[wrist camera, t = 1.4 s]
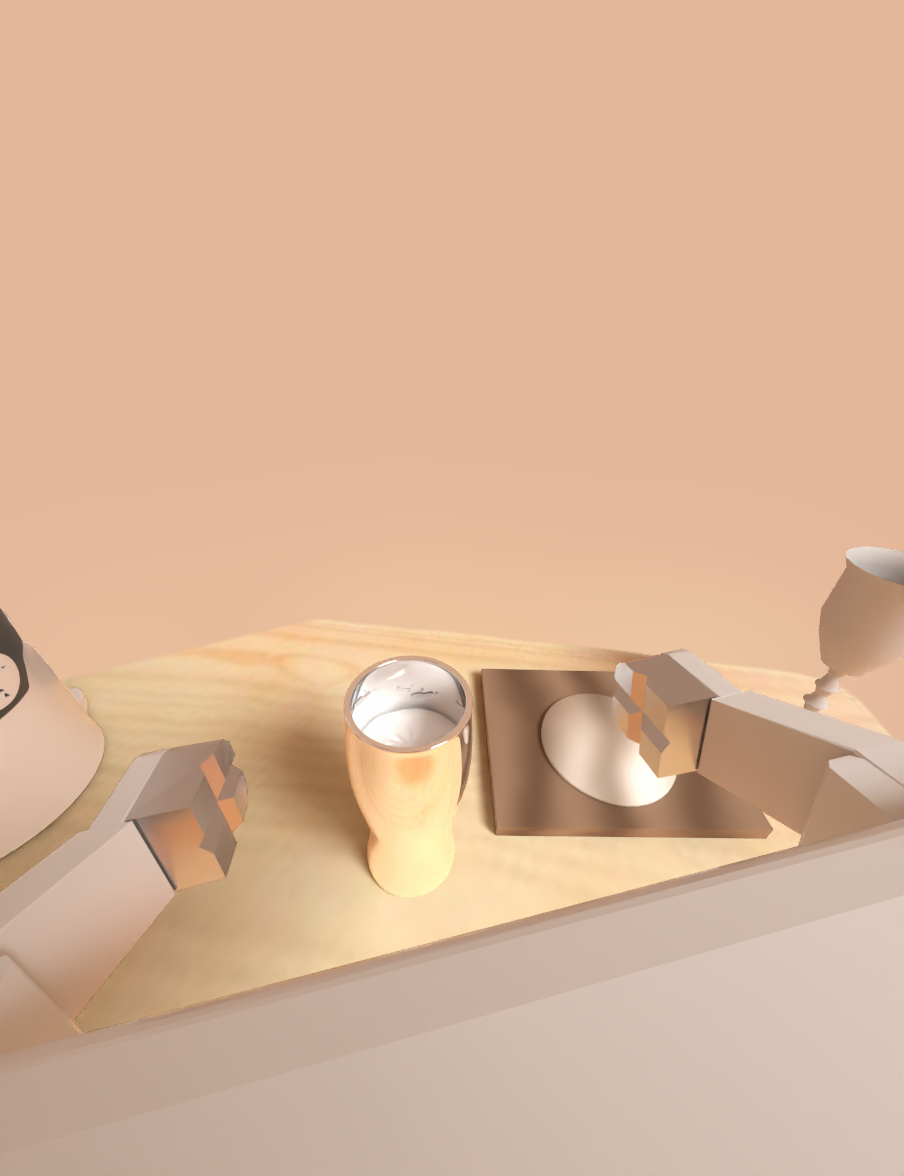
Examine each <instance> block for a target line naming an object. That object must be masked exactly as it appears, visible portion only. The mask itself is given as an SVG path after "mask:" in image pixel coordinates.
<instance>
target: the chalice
mask: <svg viewBox="0 0 904 1176" xmlns="http://www.w3.org/2000/svg"><path fill="white" fill-rule="evenodd" d="M846 564H847V568H846V569H845V571H844V572H843V574H842V576H841V577H840V579H839V580H838V582H837V584H836V585H835V587H834V588H833V590H832V592H831V593H830V595H829V597H828V598H827V600H826V602H825V603H824V605H823V606H822V608H821V616H820V625H819V638H820V651H821V660H822V661H823V663H825V664H826V665H827V666H828V667H830V668H829V671H828V673H827V674H826V675H825V676H824V677H822V678H821V679H817V680H816V681H815V684H816V690H815V691H814V692H813V693H812V694H806V695H804V696H803V698H804V700H805V705H804V709H807V710H810V711H813V712H816V713H817V712H818V711H820V710H824V709H828V707H829V706H828V703H827V697H828V696H830V695H831V694H833V693H837V692H839V688H838V685H839V682H840V679H841V678H842V677H843V676H844V675H850V676H861V675H864V674H867V673H869V672H872V671H874V670H876V669H879V668H881V667H884V666H886V665H889V664H891V663H893V662H896V661H898V660H900V659H901V658H903V657H904V552H902V551H898V550H893V549H886V548H878V547H856V548H850V549H849V550H848V551H846Z"/></svg>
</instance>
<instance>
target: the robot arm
mask: <svg viewBox="0 0 904 1176" xmlns="http://www.w3.org/2000/svg"><path fill="white" fill-rule="evenodd" d="M12 625H14V624H13V622H12V621H11V619H10V618H9V617H8V615H7V614H6V613H5V612H4V611H2V610H1V609H0V858H2V857H4V856H6V855H7V854H9V853H10V852H12V851H14V850H15V849H17V848H18V847H20V846H21V845H23V844H24V843H26V842H27V841H29V840H30V839H31V838H33V837H34V836H36V835H37V834H38V833H40V832H41V831H42V830H43V829H45V828H46V827H47V826H48V825H50V824H51V823H52V822H53V821H54V820H55V819H57V818H58V817H59V816H60V815H61V814H62V813H63V812H64V811H65V810H66V809H67V808H68V807H69V806H70V805H71V804H72V803H73V802H74V801H75V800H76V799H77V798H78V796H79V795H80V794H81V793H82V792H83V790H84V789H85V788H86V787H87V785H88V784H89V782H90V781H91V779H92V778H93V776H94V775H95V773H96V771H97V769H98V767H99V765H100V762H101V760H102V757H103V753H104V746H105V741H104V735H103V732H102V730H101V728H100V727H99V726H98V724H96V723H95V722H94V721H93V720H92V719H91V718H90V717H89V715H88V713H87V710H88V700H87V697H86V695H85V694H84V693H83V692H82V691H81V690H80V689H78V688H67V686H66V685H65V684H64V683H63V681H62V680H61V679H60V678H59V676H58V675H57V674H56V673H55V672H54V670H53V669H52V668H51V667H50V666H49V664H48V663H47V662H46V661H45V660H44V658H43V657H42V656H41V655H40V654H39V652H38V651H37V650H36V649H35V648H34V647H33V646H32V645H31V644H30V643H29V642H26V641H24V640H21V638H20V637H19V635H18V633H17V632H16V630H15V629H14V627H13V626H12ZM614 679H615V680H616V681H617V682H618V683H619V685H620V687H619V688H618V689H617V691H616V692H615V694H614V695H613V710H614V714H615V718H616V721H617V723H618V725H619V727H620V729H621V731H622V732H623V733H624V735H625V736H626V737H627V738H628V739H630V740H632V741H634V742H636V743H638V744H640V745H639V755H640V756H641V757H642V758H643V760H644V761H645V762H646V764H647V765H648V766H649V768H650V769H651V770H652V771H653V773H654V774H655V775H656V777H657V778H662V777H667V776H672V775H677V774H682V773H688V772H693V771H698V772H697V773H699V774H701V775H702V776H704V777H706V778H707V779H709V780H711V781H712V782H714V783H716V784H717V785H719V786H721V787H722V788H724V789H726V790H727V791H729V792H731V793H732V794H734V795H736V796H737V797H739V798H741V799H742V800H744V801H746V802H747V803H749V804H751V805H752V806H754V807H756V808H757V809H759V810H761V811H762V812H764V813H766V814H767V815H769V816H771V817H772V818H774V819H776V820H777V821H779V822H781V823H782V824H784V825H786V826H787V827H789V828H791V829H792V830H794V831H796V832H797V833H799V834H801V835H802V836H801V839H800V842H799V844H798V846H797V847H793V848H789V849H786V850H782V851H778V852H774V853H770V854H767V855H763V856H759V857H755V858H751V859H747V860H744V861H740V862H736V863H732V864H728V865H725V866H721V867H717V868H713V869H709V870H705V871H702V872H698V873H694V874H690V875H686V876H683V877H679V878H675V879H671V880H667V881H664V882H660V883H656V884H652V885H648V886H645V887H641V888H637V889H633V890H629V891H626V892H622V893H618V894H614V895H610V896H607V897H603V898H599V899H595V900H591V901H587V902H584V903H580V904H576V905H572V906H568V907H565V908H561V909H557V910H553V911H549V912H546V913H542V914H538V915H534V916H530V917H527V918H523V919H519V920H515V921H511V922H507V923H504V924H500V925H496V926H492V927H488V928H485V929H481V930H477V931H473V932H469V933H465V934H462V935H458V936H454V937H450V938H446V939H442V940H439V941H435V942H431V943H427V944H423V945H420V946H416V947H412V948H408V949H404V950H400V951H397V952H393V953H389V954H385V955H381V956H377V957H374V958H370V959H366V960H362V961H358V962H354V963H351V964H347V965H343V966H339V967H335V968H332V969H328V970H324V971H320V972H316V973H312V974H309V975H305V976H301V977H297V978H293V979H289V980H286V981H282V982H278V983H274V984H270V985H267V986H263V987H259V988H255V989H251V990H247V991H244V992H240V993H236V994H232V995H228V996H225V997H221V998H217V999H213V1000H209V1001H205V1002H202V1003H198V1004H194V1005H190V1006H186V1007H182V1008H179V1009H175V1010H171V1011H167V1012H163V1013H160V1014H156V1015H152V1016H148V1017H144V1018H140V1019H137V1020H133V1021H129V1022H125V1023H121V1024H117V1025H114V1026H110V1027H106V1028H102V1029H98V1030H95V1031H91V1032H87V1033H83V1031H82V1030H81V1029H80V1028H79V1027H78V1026H77V1025H76V1024H75V1023H74V1022H73V1021H74V1020H75V1019H76V1017H77V1016H78V1015H79V1014H80V1012H81V1011H82V1010H83V1009H84V1007H85V1006H86V1005H87V1004H88V1002H89V1001H90V1000H91V999H92V997H93V996H94V995H95V994H96V992H97V991H98V990H99V989H100V987H101V986H102V985H103V984H104V982H105V981H106V980H107V979H108V978H109V976H110V975H111V974H112V973H113V971H114V970H115V969H116V968H117V966H118V965H119V964H120V963H121V961H122V960H123V959H124V958H125V956H126V955H127V954H128V953H129V951H130V950H131V949H132V948H133V946H134V945H135V944H136V943H137V941H138V940H139V939H140V938H141V936H142V935H143V934H144V933H145V931H146V930H147V929H148V928H149V926H150V925H151V924H152V923H153V922H154V920H155V919H156V918H157V917H158V915H159V914H160V913H161V912H162V910H163V909H164V908H165V907H166V905H167V904H168V903H169V902H170V900H171V899H172V898H173V897H174V895H175V891H178V890H182V889H185V888H189V887H193V886H197V885H201V884H205V883H209V882H212V881H216V880H220V879H224V878H226V876H227V873H228V870H229V866H230V863H231V860H232V857H233V853H234V850H235V847H236V843H237V842H236V840H235V838H234V836H233V833H232V832H233V831H234V830H235V829H236V828H237V827H238V826H239V825H240V824H241V823H242V822H243V820H244V816H245V813H246V809H247V796H248V790H247V785H246V780H245V777H244V775H243V772H242V770H240V769H238V768H237V767H235V766H233V765H231V764H232V761H233V758H234V755H235V753H234V751H233V749H232V746H231V744H230V742H229V741H227V740H224V739H222V740H216V741H210V742H205V743H199V744H193V745H187V746H181V747H176V748H171V749H166V750H160V751H155V752H149V753H144V754H142V755H140V756H138V757H137V758H135V760H134V761H133V762H132V764H131V766H130V767H129V769H128V770H127V772H126V773H125V775H124V776H123V778H122V779H121V781H120V782H119V784H118V785H117V787H116V788H115V790H114V791H113V793H112V794H111V796H110V797H109V799H108V801H107V802H106V804H105V805H104V807H103V808H102V810H101V811H100V813H99V814H98V816H97V817H96V819H95V820H94V822H93V823H92V825H91V826H90V828H89V829H88V830H85V831H81V832H78V833H76V834H75V835H74V836H73V837H71V838H70V839H69V840H67V841H66V842H65V843H63V844H62V845H61V846H60V847H58V848H57V849H56V850H54V851H53V852H52V853H50V854H49V855H48V856H47V857H45V858H44V859H43V860H41V861H40V862H39V863H37V864H36V865H35V866H34V867H32V868H31V869H30V870H28V871H27V872H26V873H24V874H23V875H22V876H21V877H19V878H18V879H17V880H15V881H14V882H13V883H11V884H10V885H9V886H8V887H6V888H5V889H4V890H2V891H1V892H0V1176H904V741H902V740H899V739H896V738H893V737H890V736H887V735H884V734H880V733H877V732H874V731H871V730H868V729H865V728H862V727H859V726H856V725H853V724H850V723H847V722H844V721H841V720H838V719H834V718H831V717H828V716H825V715H822V714H819V713H816V712H813V711H810V710H807V709H804V708H801V707H798V706H795V705H792V704H788V703H785V702H782V701H779V700H776V699H773V698H770V697H767V696H764V695H761V694H758V693H755V692H752V691H746V692H742V691H740V690H739V689H738V688H737V687H735V686H734V685H733V684H732V683H730V682H729V681H728V680H726V679H725V678H724V677H723V676H721V675H720V674H719V673H717V672H716V671H715V670H714V669H712V668H711V667H710V666H708V665H707V664H706V663H705V662H703V661H702V660H700V659H699V658H698V657H697V656H696V655H694V654H693V653H692V652H690V651H688V650H685V649H680V650H676V651H671V652H666V653H662V654H661V655H655V656H650V657H645V658H640V659H635V660H630V661H625V662H620V663H618V664H617V666H616V669H615V678H614Z"/></svg>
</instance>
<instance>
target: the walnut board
mask: <svg viewBox="0 0 904 1176" xmlns="http://www.w3.org/2000/svg"><path fill="white" fill-rule="evenodd" d="M614 678H615V672H597V671H553V670H510V669H482V672H481V684H482V695H483V705H484V716H485V727H486V737H487V748H488V758H489V769H490V780H491V790H492V801H493V811H494V822H495V833H496V835H509V836H600V837H690V838H767V837H768V835H769V834H770V833H771V832H772V830H773V828H772V827H771V825H770V824H769V822H768V821H767V819H766V817H765V816H764V814H763V813H762V811H761V810H759V809H757V808H756V807H754V806H752V805H751V804H749V803H747V802H746V801H744V800H742V799H741V798H739V797H737V796H736V795H734V794H732V793H731V792H729V791H727V790H726V789H724V788H722V787H721V786H719V785H717V784H716V783H714V782H712V781H711V780H709V779H707V778H706V777H704V776H702V775H701V774H699V773H697V772H698V771H693V772H688V773H682V774H677V775H672V776H667V777H662V778H657V777H656V775H655V774H654V773H653V771H652V770H651V769H650V768H649V766H648V765H647V764H646V762H645V761H644V760H643V758H642V757H641V756H640V755H639V745H640V744H638V743H636V742H634V741H632V740H630V739H628V738H627V737H626V736H625V735H624V733H623V732H622V731H621V729H620V727H619V725H618V723H617V721H616V718H615V714H614V710H613V695H614V694H615V692H616V691H617V689H618V688H619V687H620V685H619V683H618V682H617V681H616V680H615V679H614Z"/></svg>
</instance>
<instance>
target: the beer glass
mask: <svg viewBox="0 0 904 1176" xmlns="http://www.w3.org/2000/svg"><path fill="white" fill-rule="evenodd" d="M472 705H473V701H472V694H471V690H470V688H469V686H468V684H467V682H466V681H465V679H464V678H463V677H462V676H461V675H460V674H459V673H458V672H457V671H456V670H455V669H454V668H452V667H451V666H449V665H447V664H445V663H443V662H441V661H438V660H436V659H432V658H428V657H422V656H400V657H394V658H390V659H386V660H383V661H380V662H378V663H376V664H374V665H372V666H370V667H368V668H367V669H365V670H364V671H363V672H362V673H360V674H359V675H358V676H357V677H356V678H355V679H354V681H353V682H352V683H351V685H350V686H349V688H348V690H347V692H346V695H345V699H344V716H345V751H346V761H347V769H348V774H349V779H350V783H351V787H352V790H353V793H354V795H355V798H356V801H357V804H358V806H359V808H360V810H361V812H362V814H363V816H364V819H365V821H366V823H367V824H368V826H369V829H370V836H369V840H368V846H367V860H368V865H369V869H370V872H371V874H372V876H373V878H374V879H375V881H376V882H377V883H378V884H379V885H380V886H381V887H382V888H383V889H384V890H385V891H387V892H388V893H390V894H392V895H395V896H398V897H403V898H414V897H419V896H423V895H425V894H427V893H429V892H431V891H433V890H434V889H435V888H437V887H438V886H439V885H440V884H441V883H442V882H443V881H444V880H445V878H446V877H447V875H448V874H449V872H450V870H451V867H452V865H453V862H454V857H455V839H454V834H453V830H452V826H451V824H452V821H453V819H454V817H455V814H456V812H457V809H458V807H459V804H460V802H461V799H462V797H463V794H464V790H465V787H466V784H467V781H468V776H469V770H470V764H471V756H472Z"/></svg>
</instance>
